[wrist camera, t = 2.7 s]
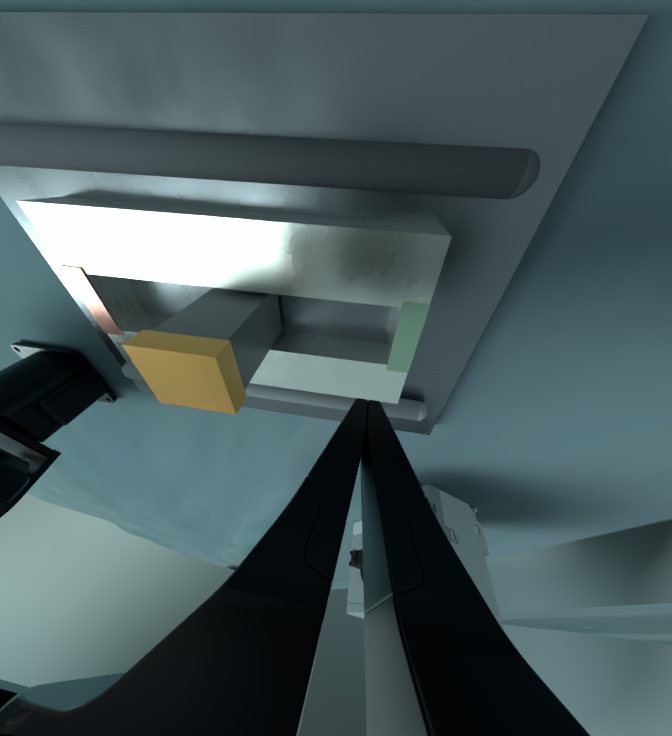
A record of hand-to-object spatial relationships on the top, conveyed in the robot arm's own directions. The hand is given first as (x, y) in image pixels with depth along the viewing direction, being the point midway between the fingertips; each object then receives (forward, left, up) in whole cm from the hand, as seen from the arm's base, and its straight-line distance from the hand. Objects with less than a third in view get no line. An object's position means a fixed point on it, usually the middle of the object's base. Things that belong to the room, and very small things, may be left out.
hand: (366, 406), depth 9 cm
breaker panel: (-7, 0, -8) cm, 10 cm away
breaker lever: (-7, 0, -6) cm, 9 cm away
